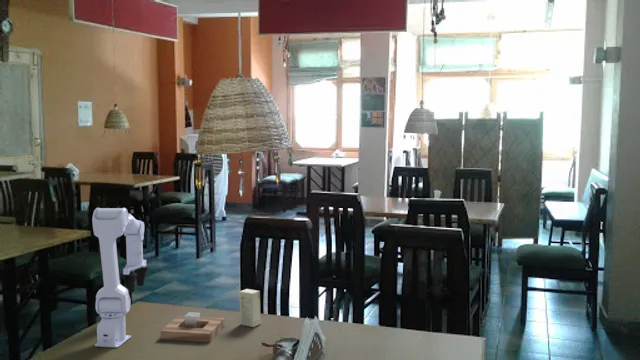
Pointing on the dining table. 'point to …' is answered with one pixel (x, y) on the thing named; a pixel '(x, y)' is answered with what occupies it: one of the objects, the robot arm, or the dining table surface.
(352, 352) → the dining table surface
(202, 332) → the well block
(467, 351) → the dining table surface
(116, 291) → the robot arm
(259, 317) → the skincare box
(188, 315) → the grey rectangular block
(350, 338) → the dining table surface
